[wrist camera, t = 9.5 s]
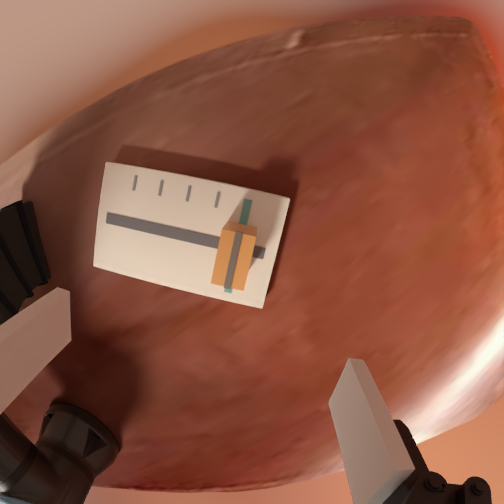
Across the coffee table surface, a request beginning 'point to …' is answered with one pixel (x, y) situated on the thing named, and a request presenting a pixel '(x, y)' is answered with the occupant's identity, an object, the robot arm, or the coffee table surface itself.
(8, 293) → the magazine
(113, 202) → the fader console
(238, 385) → the coffee table surface
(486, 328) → the coffee table surface
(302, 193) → the coffee table surface
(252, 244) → the fader tab
